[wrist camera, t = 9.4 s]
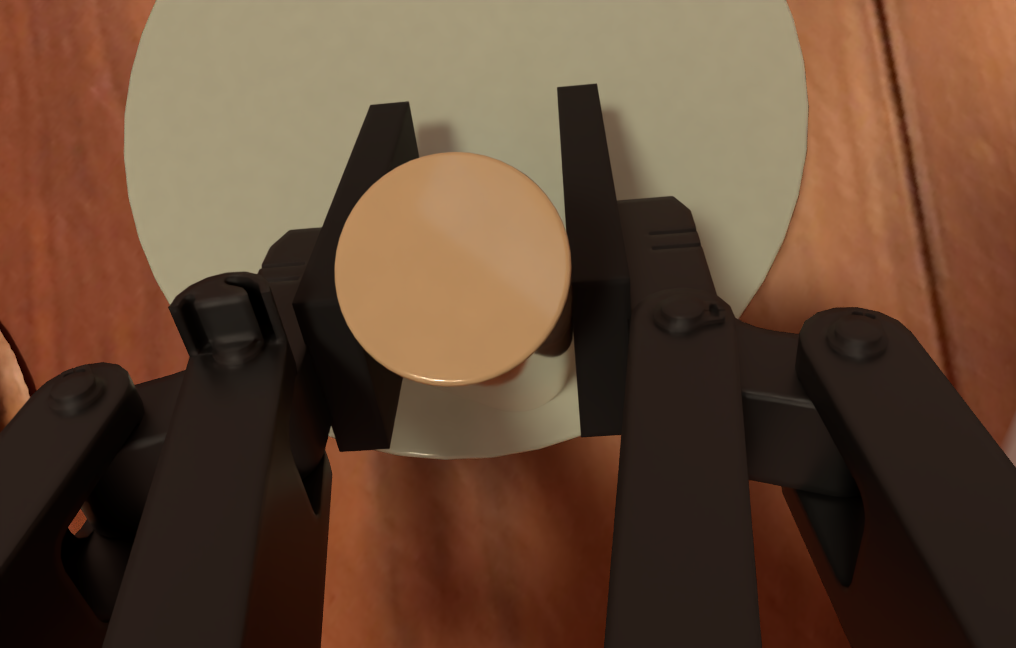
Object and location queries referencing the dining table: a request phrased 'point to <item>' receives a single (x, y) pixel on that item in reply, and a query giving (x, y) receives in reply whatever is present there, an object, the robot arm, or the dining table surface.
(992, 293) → the dining table surface
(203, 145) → the turntable plate
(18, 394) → the cake on gold board
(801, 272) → the dining table surface
